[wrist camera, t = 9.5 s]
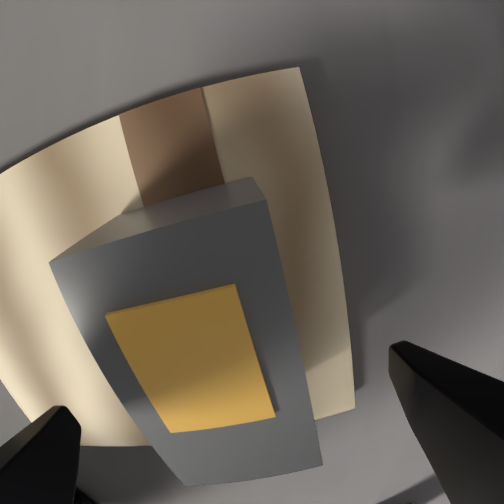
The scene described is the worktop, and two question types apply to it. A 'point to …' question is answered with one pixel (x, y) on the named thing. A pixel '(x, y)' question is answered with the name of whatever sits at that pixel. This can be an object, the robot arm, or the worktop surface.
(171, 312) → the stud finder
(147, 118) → the board
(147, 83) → the worktop surface
